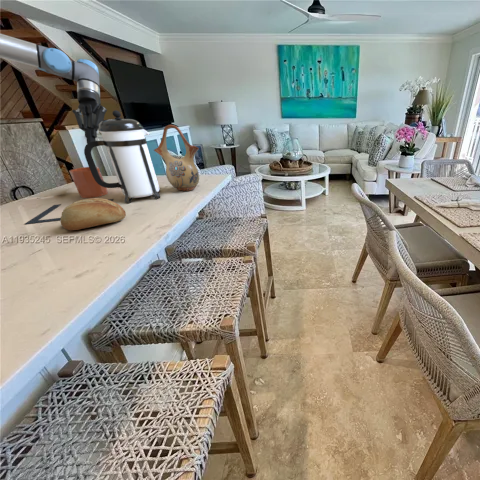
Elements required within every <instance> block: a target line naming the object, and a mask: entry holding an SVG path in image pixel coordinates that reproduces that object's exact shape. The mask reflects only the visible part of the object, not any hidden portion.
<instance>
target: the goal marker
mask: <svg viewBox="0 0 480 480" xmlns="http://www.w3.org/2000/svg"><path fill="white" fill-rule="evenodd" d="M107 200H110V201H112V202H114V198H108V199H107ZM61 205H62V204H61V203H60V204H53V205H52V206H50V207H49V208H47V209H45V210H44V211H42V212H40V213H39V214H38V215H37V214H36V216H34V217H32V218H31V219H30V220H28V221H27V222H25V223H24V225H32V224H41V223H49V222H58V221H61V220H60V219H61V217H54V218H46V219H43V218H44V217H45V216H47V215H48V214H50V213H51V212H53V211H54V210H55V209H57V208H59V207H60V206H61Z"/></svg>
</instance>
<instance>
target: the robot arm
mask: <svg viewBox="0 0 480 480" xmlns="http://www.w3.org/2000/svg"><path fill="white" fill-rule="evenodd" d="M0 59H3V60H8V61H12V62H15V63H18V64H19V63H20V64H24V65H28V66H31V67H36V68H37V69H38V70H40V71H43V72H45V73H47V74H51V75H55V76H58V77H61V78H65V79H68V80H71V81H74V82H76V93H77V101H78V106H77V109H72V110H71V112H72V113H73V114H74V117H75V120H76V122H77V125H78V129H80V130H82V132H84V137H85V138H86V145H87V144H88V143H90V142H92V141H97V140H96V138H97V137H98V128H99V123H100V122H101V121H103V120H105V115H106V113H107V111H108V109H107V108H106V107H104V105H102V101H101V87H100V85H101V84H100V72H99V71H100V70H99V67H98V65H96V63H94V62H93V61H91V60H89V59H83V58H78V59H76V61H75V60H71V59H70V57H69V56H68V55H67V54H66V53H65V52H64V51H62V50H60V49H58V48H54V47H47V46H43V45H39V44H36V43H33V42H31V41H27V40H23V39H20V38H16V37H14V36H10V35H6V34H4V33H0Z"/></svg>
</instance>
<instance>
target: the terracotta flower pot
mask: <svg viewBox="0 0 480 480" xmlns="http://www.w3.org/2000/svg"><path fill="white" fill-rule="evenodd" d="M96 168H97V171H98V173H99V176H100V178H101V179H102V180H103V181H104V182H105V179H104V177H103V174H102V173H101V169H100V168H99V167H98V166H96ZM68 171H69V175H70V177H71V179H72V181H73V183H74V185H75V188H76V191H77V192H78V194H79V197H80V198H82V199H90V198H100V197H102V196H103V197H104V196H105V195H108V194H109V190H108V188H105V187H102V186H100V185H99V184H98V183H97V182H96V181H95V179H94V178H93V175H92V173H91V171H90V168H89V166H83V167H78V168H73V169H70V170H68Z"/></svg>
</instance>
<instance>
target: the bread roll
mask: <svg viewBox="0 0 480 480" xmlns="http://www.w3.org/2000/svg"><path fill="white" fill-rule="evenodd" d="M126 216H127V213H126V210H125V209H124V208H123V206H121V205H120V204H119V203H116V202H114V201H110V200H108V199H107V198H101V197H93V198H82V199H79V200H76V201H73V202H72V203H71V204H69V205H68V206H66V207H65V208H64V209H63V210H62V212H61V216H60V218H61V219H60V220H59V221H60V225H61V226H62V227H63V229H65V230H67V231H80V230H83V229H88V228H93V227H96V226H101V225H107V224H112V223H117V222H119V221H122V220H123V219H125V218H126Z"/></svg>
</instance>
